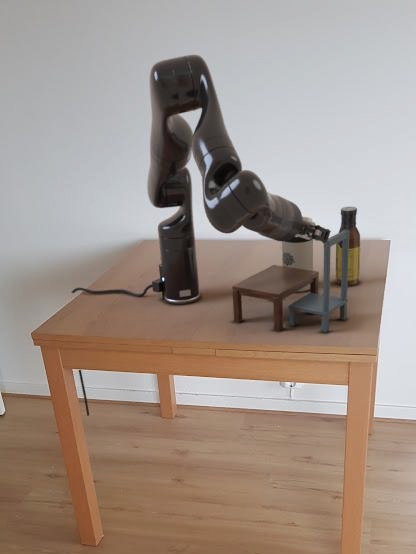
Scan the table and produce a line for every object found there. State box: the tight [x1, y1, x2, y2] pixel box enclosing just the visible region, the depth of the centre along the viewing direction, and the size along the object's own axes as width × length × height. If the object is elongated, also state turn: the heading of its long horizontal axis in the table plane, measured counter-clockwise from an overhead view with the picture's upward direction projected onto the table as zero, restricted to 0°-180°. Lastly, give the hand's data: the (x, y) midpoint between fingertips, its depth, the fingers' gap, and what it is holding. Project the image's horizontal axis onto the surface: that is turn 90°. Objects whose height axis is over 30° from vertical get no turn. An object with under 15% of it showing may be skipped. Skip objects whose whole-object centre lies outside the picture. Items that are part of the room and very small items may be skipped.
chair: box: [288, 230, 349, 333], centre depth 156 cm, size 10×10×21 cm
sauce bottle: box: [335, 206, 361, 287], centre depth 178 cm, size 7×6×20 cm
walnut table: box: [231, 264, 320, 332], centre depth 165 cm, size 13×18×9 cm
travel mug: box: [281, 215, 314, 293], centre depth 178 cm, size 8×8×18 cm
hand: (305, 230), depth 140 cm, fingers open, 8 cm apart
